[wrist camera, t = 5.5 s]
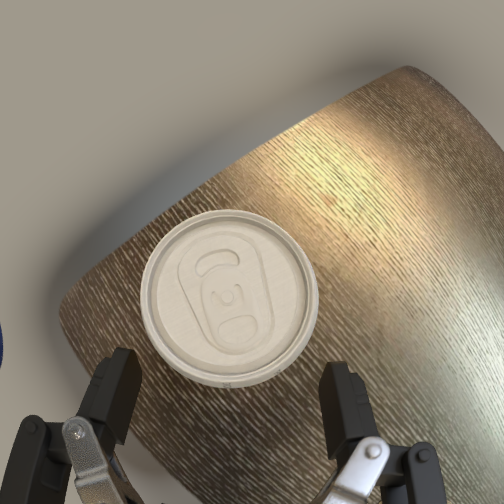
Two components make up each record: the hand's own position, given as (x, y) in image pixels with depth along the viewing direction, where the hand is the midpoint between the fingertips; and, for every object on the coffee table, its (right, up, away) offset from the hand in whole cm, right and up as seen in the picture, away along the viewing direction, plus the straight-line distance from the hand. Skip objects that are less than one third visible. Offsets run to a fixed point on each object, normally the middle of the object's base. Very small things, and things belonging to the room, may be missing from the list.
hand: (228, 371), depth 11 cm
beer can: (0, 0, +12) cm, 12 cm away
